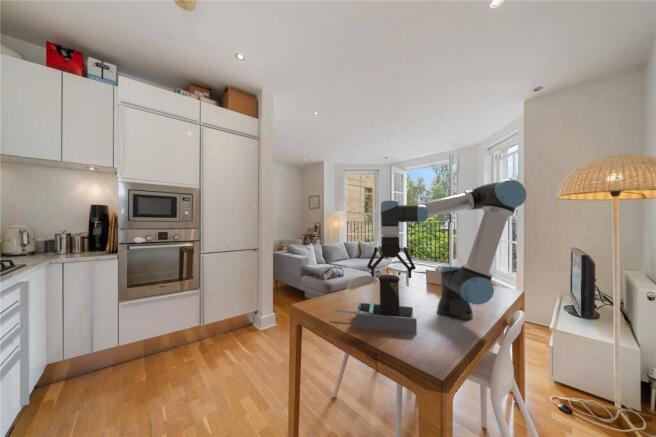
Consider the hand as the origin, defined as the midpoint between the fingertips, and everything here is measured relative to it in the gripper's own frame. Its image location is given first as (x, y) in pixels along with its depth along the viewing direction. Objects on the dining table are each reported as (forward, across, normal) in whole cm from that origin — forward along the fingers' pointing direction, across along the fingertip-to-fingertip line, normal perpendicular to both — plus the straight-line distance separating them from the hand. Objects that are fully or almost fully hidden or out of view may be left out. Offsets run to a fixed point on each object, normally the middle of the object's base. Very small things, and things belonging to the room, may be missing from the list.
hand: (391, 285), depth 103 cm
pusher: (+15, +16, 0) cm, 22 cm away
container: (+16, +1, 0) cm, 16 cm away
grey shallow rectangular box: (+17, +3, 0) cm, 17 cm away
